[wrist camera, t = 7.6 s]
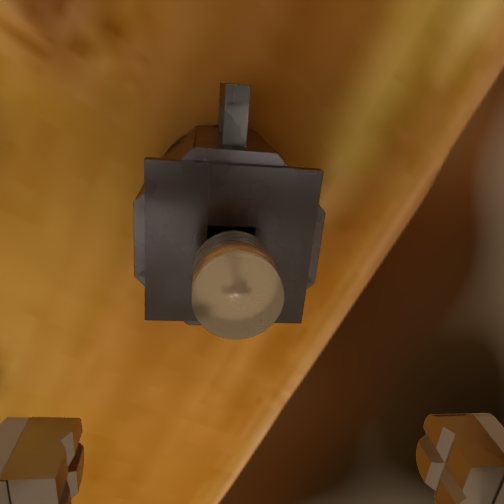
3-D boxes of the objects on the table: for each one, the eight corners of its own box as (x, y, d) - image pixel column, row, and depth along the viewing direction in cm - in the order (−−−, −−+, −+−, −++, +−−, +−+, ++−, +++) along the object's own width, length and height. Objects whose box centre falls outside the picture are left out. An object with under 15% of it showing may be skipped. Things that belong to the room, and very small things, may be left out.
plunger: (173, 150, 28) (148, 210, 15) (277, 157, 29) (337, 220, 16) (171, 249, 30) (148, 371, 18) (267, 253, 31) (311, 372, 19)
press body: (154, 76, 29) (127, 75, 18) (297, 89, 30) (349, 95, 20) (153, 251, 34) (131, 331, 23) (278, 256, 35) (311, 334, 24)
